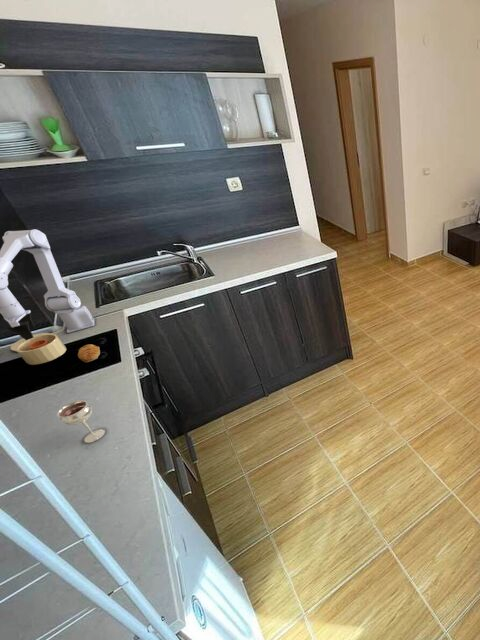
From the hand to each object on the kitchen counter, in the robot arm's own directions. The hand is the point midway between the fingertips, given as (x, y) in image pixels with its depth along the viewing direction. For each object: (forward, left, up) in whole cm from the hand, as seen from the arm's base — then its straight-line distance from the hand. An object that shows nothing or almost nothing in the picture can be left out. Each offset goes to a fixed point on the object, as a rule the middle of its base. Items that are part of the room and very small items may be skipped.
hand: (30, 334), depth 135 cm
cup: (0, 0, -10) cm, 10 cm away
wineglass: (-14, +65, -11) cm, 67 cm away
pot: (0, 0, -10) cm, 10 cm away
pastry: (-14, +13, -11) cm, 22 cm away
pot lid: (+5, -15, -10) cm, 19 cm away
